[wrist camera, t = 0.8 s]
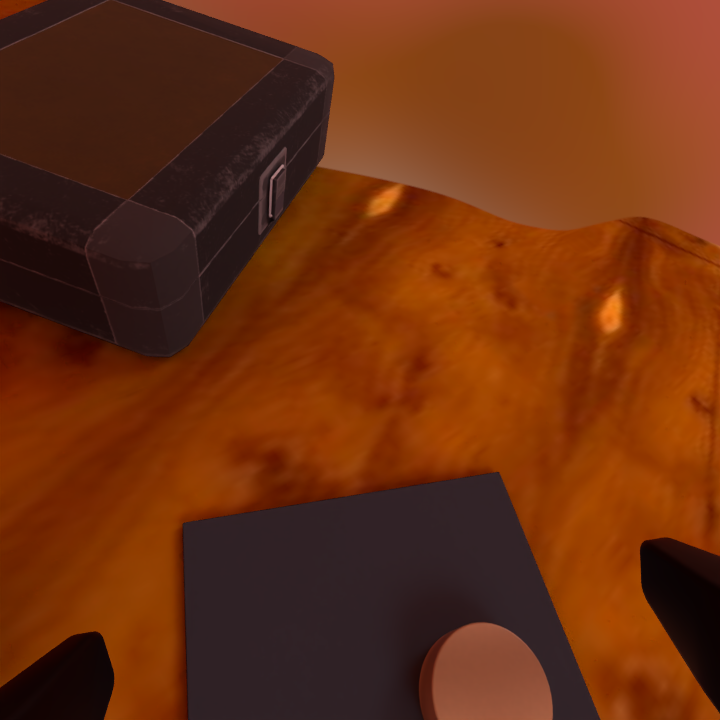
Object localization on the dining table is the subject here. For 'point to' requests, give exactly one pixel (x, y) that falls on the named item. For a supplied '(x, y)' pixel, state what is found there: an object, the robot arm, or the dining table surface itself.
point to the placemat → (360, 602)
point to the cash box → (145, 161)
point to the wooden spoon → (483, 677)
